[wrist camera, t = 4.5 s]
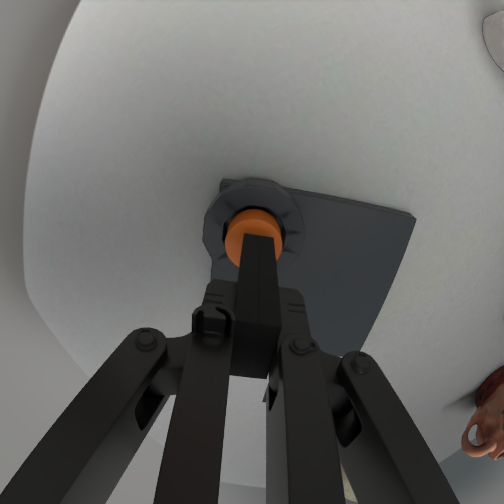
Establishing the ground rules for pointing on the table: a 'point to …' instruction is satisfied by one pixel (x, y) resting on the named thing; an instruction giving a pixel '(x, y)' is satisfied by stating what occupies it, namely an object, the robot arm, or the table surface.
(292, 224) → the scale
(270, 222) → the button
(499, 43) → the dixie cup
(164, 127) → the table surface
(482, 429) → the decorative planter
